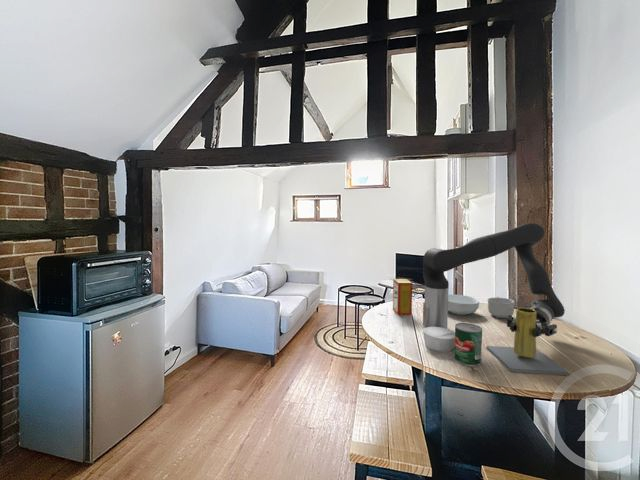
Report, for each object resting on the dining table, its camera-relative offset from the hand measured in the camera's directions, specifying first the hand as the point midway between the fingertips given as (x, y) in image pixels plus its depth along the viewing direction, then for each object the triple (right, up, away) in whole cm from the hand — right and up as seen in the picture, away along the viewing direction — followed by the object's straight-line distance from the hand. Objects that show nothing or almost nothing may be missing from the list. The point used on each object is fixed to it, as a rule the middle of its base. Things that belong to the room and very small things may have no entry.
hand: (523, 331), depth 92 cm
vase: (+2, -8, +2) cm, 9 cm away
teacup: (+22, -8, +48) cm, 54 cm away
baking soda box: (-24, -7, +53) cm, 58 cm away
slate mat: (+2, -10, +2) cm, 11 cm away
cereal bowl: (+5, -7, +52) cm, 53 cm away
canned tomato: (-16, -10, +3) cm, 20 cm away
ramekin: (-21, -10, +13) cm, 27 cm away
